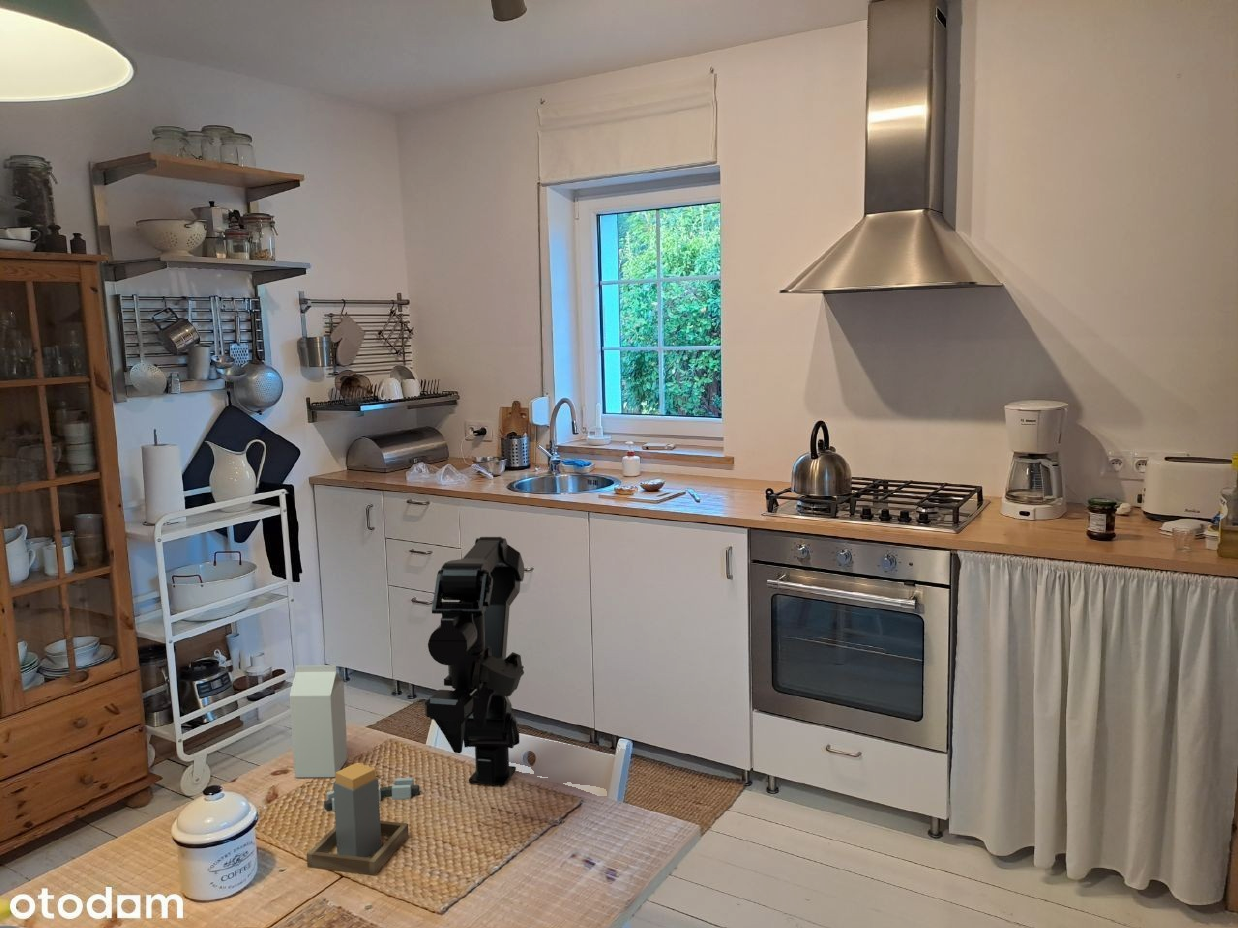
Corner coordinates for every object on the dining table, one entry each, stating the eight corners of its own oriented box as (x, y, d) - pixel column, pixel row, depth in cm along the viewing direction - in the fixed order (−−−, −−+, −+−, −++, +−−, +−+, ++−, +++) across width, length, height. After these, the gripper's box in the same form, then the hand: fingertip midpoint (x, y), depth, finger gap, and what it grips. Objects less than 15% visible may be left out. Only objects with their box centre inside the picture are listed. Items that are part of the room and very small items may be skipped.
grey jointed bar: (323, 801, 148) (323, 789, 147) (417, 784, 153) (416, 773, 153) (324, 814, 144) (324, 802, 143) (421, 796, 149) (420, 785, 148)
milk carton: (335, 778, 156) (329, 672, 153) (294, 778, 156) (287, 673, 154) (348, 759, 163) (342, 658, 161) (309, 759, 163) (302, 659, 161)
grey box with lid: (362, 839, 136) (357, 761, 134) (381, 848, 133) (377, 768, 132) (337, 853, 132) (332, 772, 131) (356, 863, 130) (352, 780, 128)
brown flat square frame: (345, 828, 139) (344, 816, 139) (408, 835, 137) (408, 823, 136) (307, 866, 129) (306, 853, 129) (375, 875, 126) (374, 861, 126)
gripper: (493, 666, 127) (497, 771, 129) (535, 627, 145) (537, 720, 147) (421, 661, 130) (425, 764, 131) (470, 624, 148) (473, 714, 150)
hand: (469, 739), depth 140 cm, fingers open, 9 cm apart
